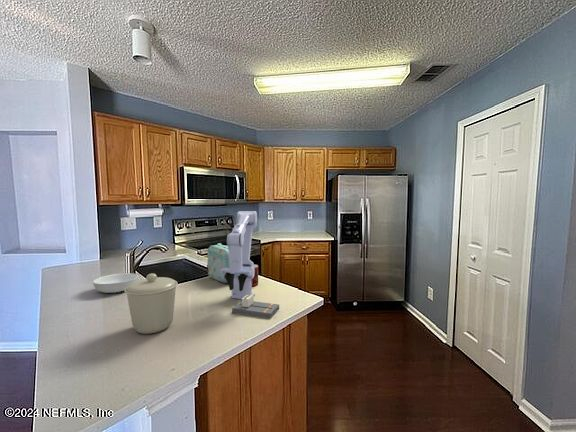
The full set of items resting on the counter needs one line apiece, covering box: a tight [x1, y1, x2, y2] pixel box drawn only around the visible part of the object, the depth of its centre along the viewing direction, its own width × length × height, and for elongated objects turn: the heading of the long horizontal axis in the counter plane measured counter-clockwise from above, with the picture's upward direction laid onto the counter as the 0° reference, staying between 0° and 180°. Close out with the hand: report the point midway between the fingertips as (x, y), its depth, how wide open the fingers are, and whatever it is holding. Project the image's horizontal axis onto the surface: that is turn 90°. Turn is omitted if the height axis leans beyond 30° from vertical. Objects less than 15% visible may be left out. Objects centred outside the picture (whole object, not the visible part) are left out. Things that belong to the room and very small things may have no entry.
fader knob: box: [241, 294, 254, 307], centre depth 121 cm, size 3×5×4 cm, turn 161°
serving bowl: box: [92, 272, 140, 294], centre depth 148 cm, size 21×21×7 cm
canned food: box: [251, 264, 259, 288], centre depth 155 cm, size 8×8×11 cm
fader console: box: [231, 300, 280, 319], centre depth 120 cm, size 18×10×2 cm, turn 71°
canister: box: [123, 273, 179, 335], centre depth 104 cm, size 18×18×21 cm
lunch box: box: [206, 242, 235, 284], centre depth 166 cm, size 27×10×21 cm, turn 43°
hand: (236, 289), depth 122 cm, fingers open, 4 cm apart
